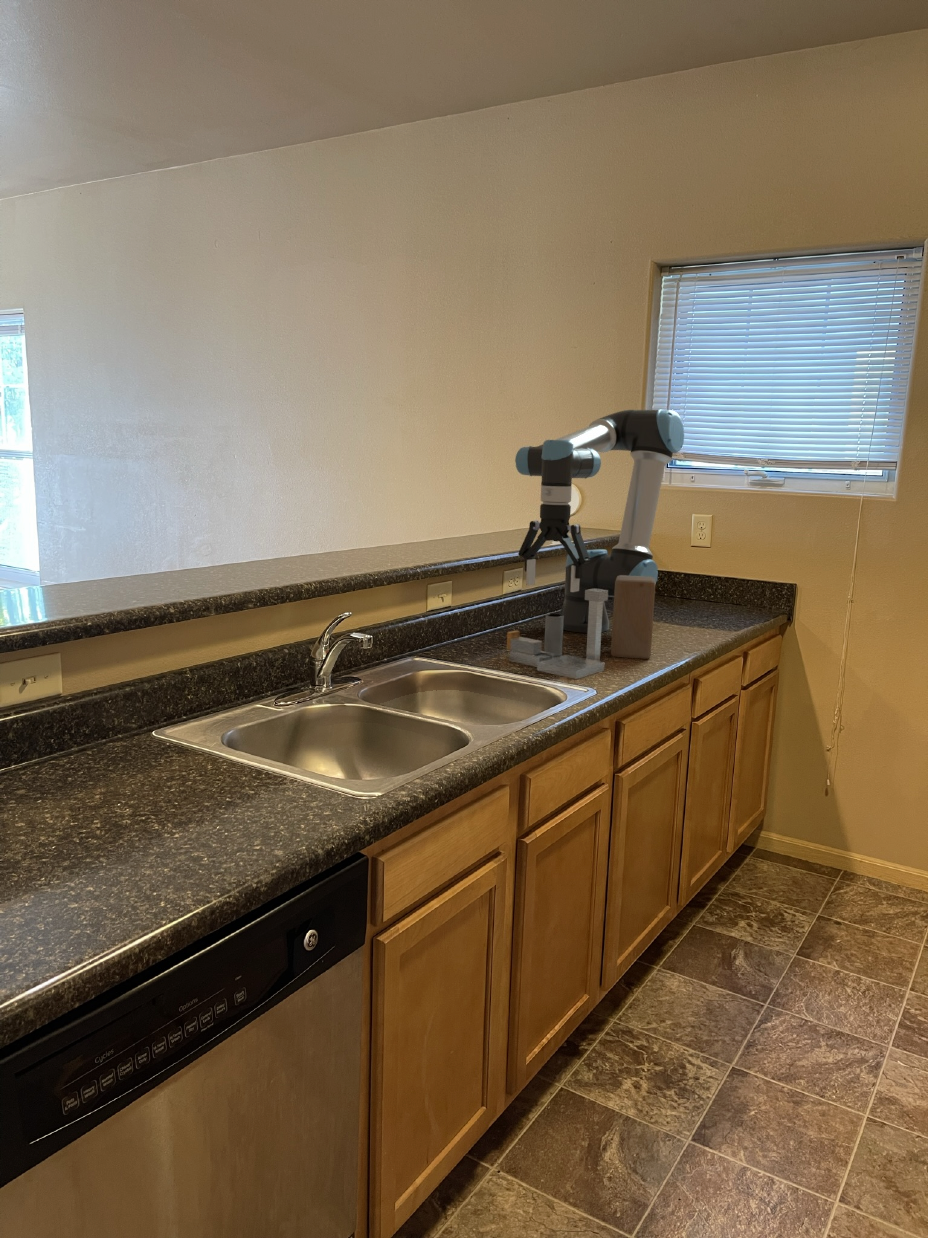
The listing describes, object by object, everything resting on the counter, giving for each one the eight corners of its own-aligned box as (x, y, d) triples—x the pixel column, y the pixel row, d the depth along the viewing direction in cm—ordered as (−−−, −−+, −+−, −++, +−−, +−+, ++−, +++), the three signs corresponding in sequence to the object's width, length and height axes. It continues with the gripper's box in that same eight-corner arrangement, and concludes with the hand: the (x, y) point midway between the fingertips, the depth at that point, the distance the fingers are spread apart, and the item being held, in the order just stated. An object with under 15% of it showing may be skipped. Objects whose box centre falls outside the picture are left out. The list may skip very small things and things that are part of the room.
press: (544, 652, 237) (547, 581, 233) (616, 666, 223) (620, 592, 220) (502, 662, 224) (505, 588, 220) (576, 679, 210) (580, 600, 206)
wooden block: (650, 660, 231) (655, 581, 227) (610, 657, 233) (614, 579, 229) (650, 651, 241) (655, 576, 237) (612, 649, 242) (616, 574, 239)
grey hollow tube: (547, 651, 237) (548, 612, 235) (563, 653, 236) (565, 614, 234) (541, 655, 233) (543, 615, 231) (558, 657, 231) (560, 617, 230)
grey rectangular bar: (515, 647, 230) (515, 630, 229) (541, 653, 225) (542, 635, 224) (506, 649, 228) (507, 632, 227) (533, 655, 223) (533, 637, 222)
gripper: (506, 500, 231) (504, 583, 235) (589, 507, 215) (585, 596, 219) (524, 499, 237) (521, 580, 241) (606, 505, 221) (602, 592, 225)
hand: (552, 588), depth 230 cm, fingers open, 13 cm apart
